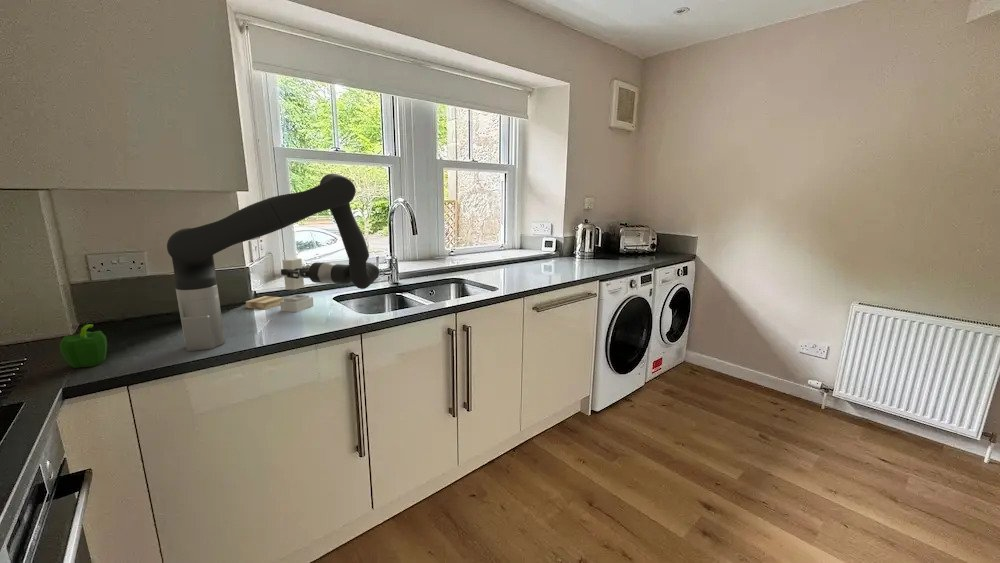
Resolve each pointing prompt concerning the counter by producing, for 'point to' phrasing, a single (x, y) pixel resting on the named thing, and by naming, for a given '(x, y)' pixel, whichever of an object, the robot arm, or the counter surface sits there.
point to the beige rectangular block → (296, 303)
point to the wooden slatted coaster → (264, 302)
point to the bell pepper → (84, 348)
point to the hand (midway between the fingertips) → (287, 270)
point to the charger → (292, 282)
